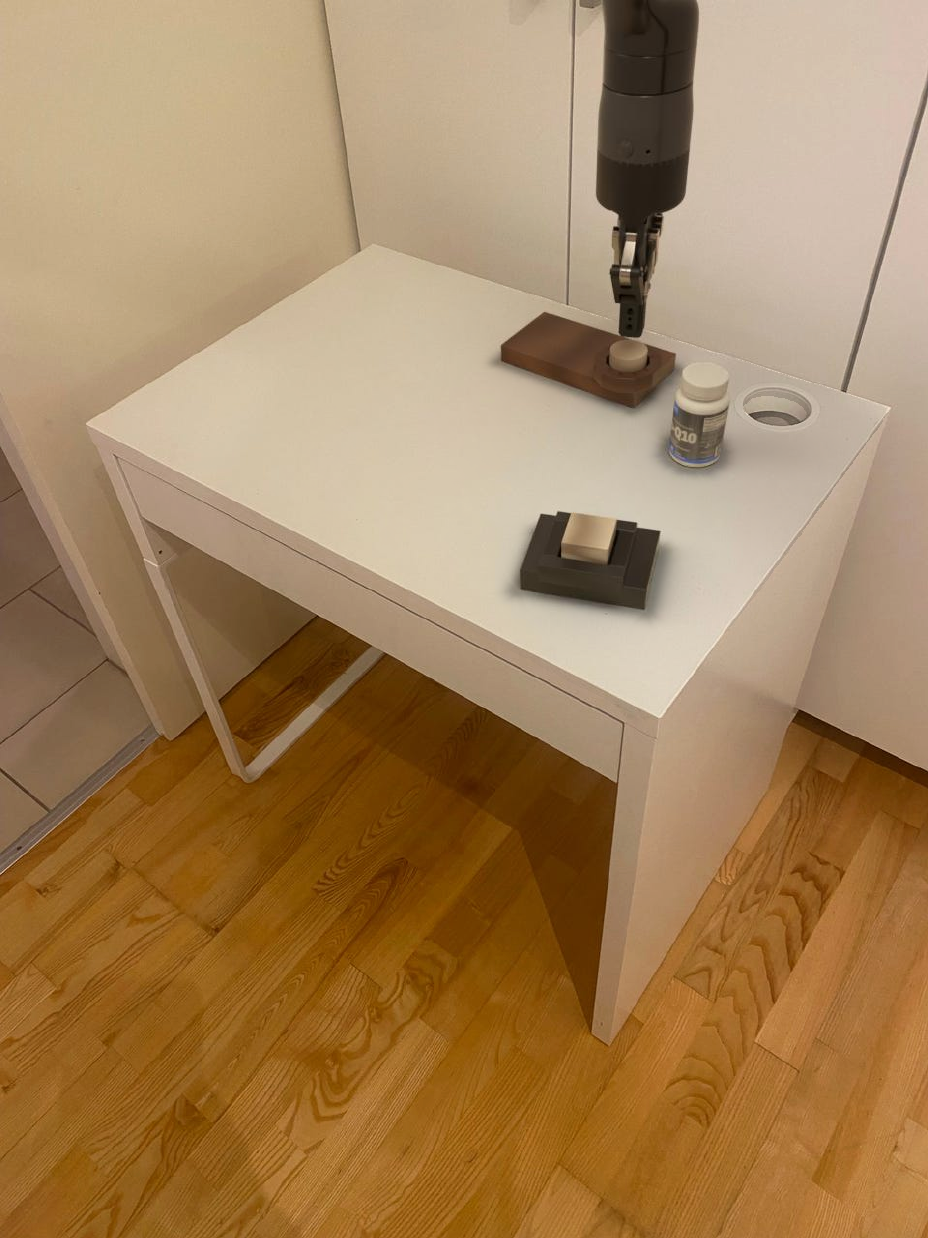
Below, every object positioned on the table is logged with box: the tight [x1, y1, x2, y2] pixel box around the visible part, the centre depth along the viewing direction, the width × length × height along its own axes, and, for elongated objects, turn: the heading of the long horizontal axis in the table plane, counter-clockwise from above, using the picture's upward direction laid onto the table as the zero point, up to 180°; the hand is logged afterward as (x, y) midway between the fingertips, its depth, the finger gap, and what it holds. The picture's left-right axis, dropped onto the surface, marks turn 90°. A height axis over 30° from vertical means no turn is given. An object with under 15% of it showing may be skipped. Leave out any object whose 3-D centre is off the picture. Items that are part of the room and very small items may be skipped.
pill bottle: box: [668, 361, 731, 468], centre depth 85 cm, size 5×5×8 cm
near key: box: [561, 512, 618, 565], centre depth 74 cm, size 4×4×2 cm
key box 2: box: [519, 510, 661, 610], centre depth 76 cm, size 10×8×4 cm
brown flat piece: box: [500, 311, 677, 409], centre depth 97 cm, size 17×9×4 cm, turn 52°
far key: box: [609, 339, 648, 372], centre depth 92 cm, size 4×4×2 cm
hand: (631, 332), depth 90 cm, fingers closed
